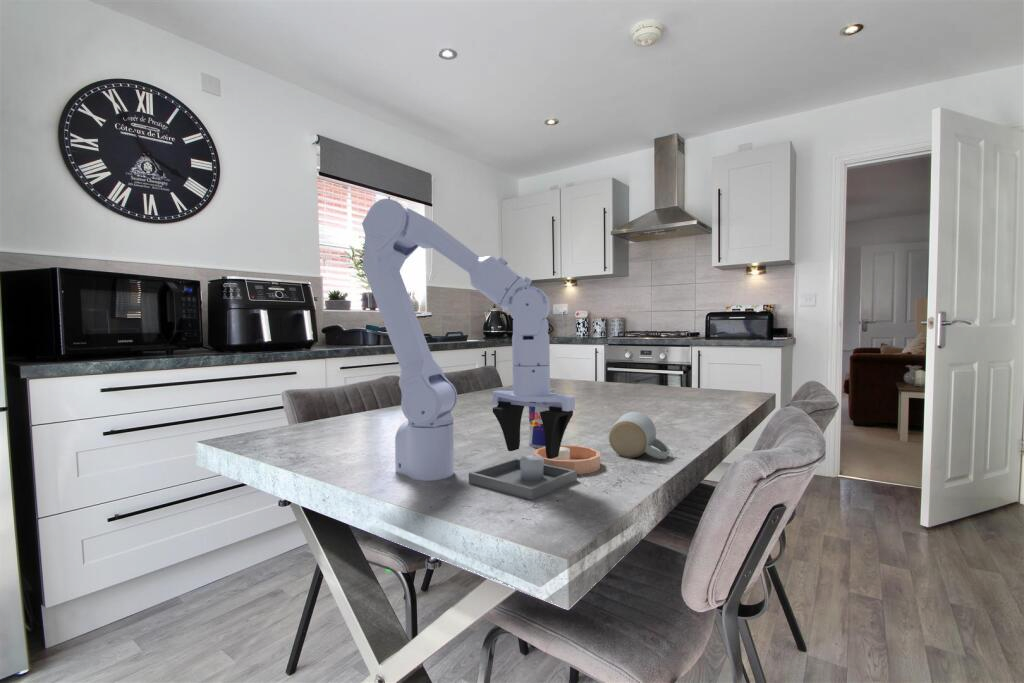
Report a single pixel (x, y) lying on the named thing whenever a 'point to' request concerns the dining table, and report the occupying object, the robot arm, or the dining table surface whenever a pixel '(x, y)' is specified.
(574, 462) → the terracotta bowl
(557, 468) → the parts tray
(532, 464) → the slate pebble
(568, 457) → the cream pebble
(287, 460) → the dining table surface
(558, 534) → the dining table surface
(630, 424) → the ceramic mug
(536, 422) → the energy drink
